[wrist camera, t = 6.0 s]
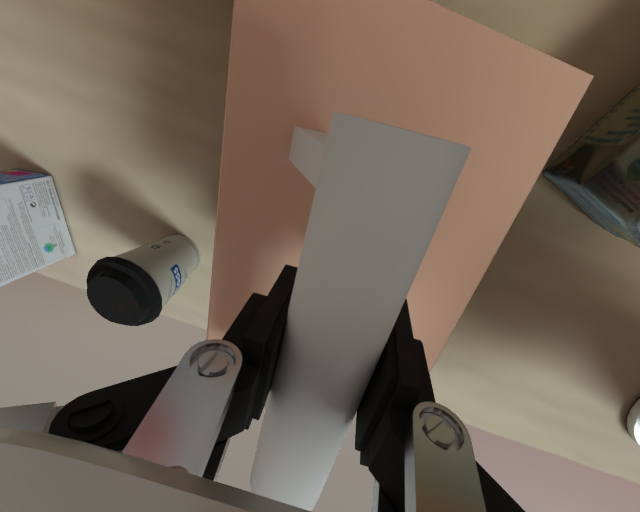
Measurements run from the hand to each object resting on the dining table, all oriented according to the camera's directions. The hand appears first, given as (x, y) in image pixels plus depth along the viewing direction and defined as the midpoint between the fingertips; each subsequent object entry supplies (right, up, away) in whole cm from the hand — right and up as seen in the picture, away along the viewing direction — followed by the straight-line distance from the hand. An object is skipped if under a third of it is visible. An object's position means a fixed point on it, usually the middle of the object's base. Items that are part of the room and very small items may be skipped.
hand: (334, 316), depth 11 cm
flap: (+2, +2, +6) cm, 6 cm away
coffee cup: (-16, +3, +24) cm, 29 cm away
